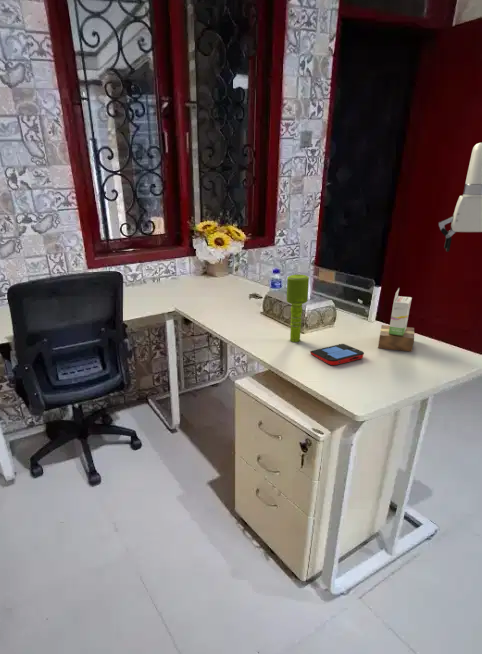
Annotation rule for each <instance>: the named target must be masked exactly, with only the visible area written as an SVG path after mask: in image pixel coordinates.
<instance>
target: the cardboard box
mask: <svg viewBox="0 0 482 654" xmlns="http://www.w3.org/2000/svg"><path fill="white" fill-rule="evenodd" d="M389 328H390V325H388V324H381V327H380V332H379V340H378V344H377V345H378V346H377V348H378V349H382V350H384V349H385V350H392V351H400V352H401V351H402V352H410V353H411V352H413V348H414V347H413V346H414V342H415V327H411V326H410V327H409V326H407V327H406V330H405V332H404V334H403V336H401V335H393V334H389Z"/></svg>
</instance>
